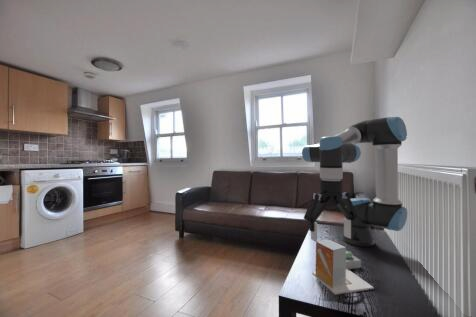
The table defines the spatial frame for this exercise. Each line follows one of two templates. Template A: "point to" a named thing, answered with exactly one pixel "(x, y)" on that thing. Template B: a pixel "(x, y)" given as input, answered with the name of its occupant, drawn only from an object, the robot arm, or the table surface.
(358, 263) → the button box
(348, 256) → the button
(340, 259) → the small box
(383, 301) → the table surface
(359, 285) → the sheet
